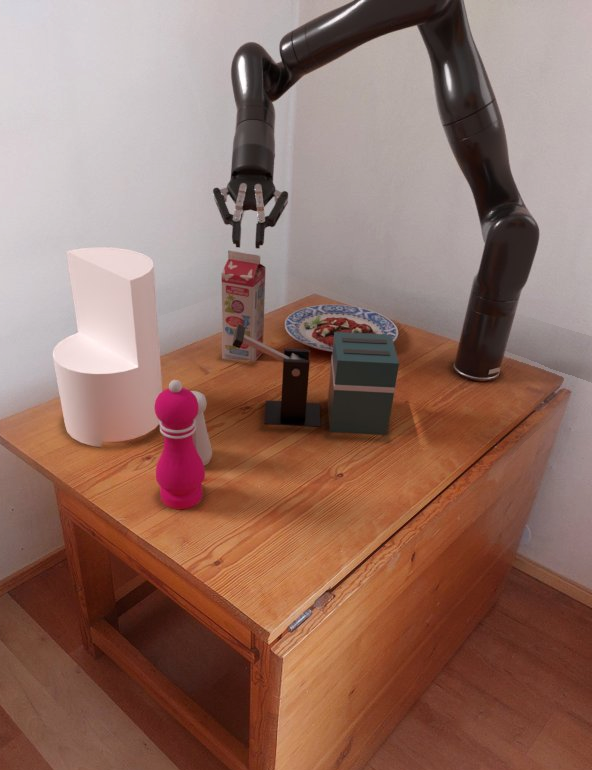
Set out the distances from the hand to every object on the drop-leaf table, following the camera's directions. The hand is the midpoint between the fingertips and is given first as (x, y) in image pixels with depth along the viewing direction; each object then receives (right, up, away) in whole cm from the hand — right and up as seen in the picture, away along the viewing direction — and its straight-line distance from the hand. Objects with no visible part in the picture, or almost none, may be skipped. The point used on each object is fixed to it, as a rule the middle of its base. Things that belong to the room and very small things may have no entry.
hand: (247, 245), depth 110 cm
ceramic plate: (+20, -9, +36) cm, 42 cm away
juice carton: (-2, -15, +26) cm, 30 cm away
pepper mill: (-10, -43, -13) cm, 46 cm away
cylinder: (-24, -30, +3) cm, 39 cm away
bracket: (+8, -30, +6) cm, 31 cm away
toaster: (+19, -30, +6) cm, 36 cm away
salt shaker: (-8, -38, -7) cm, 39 cm away
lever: (+3, -20, -1) cm, 20 cm away
